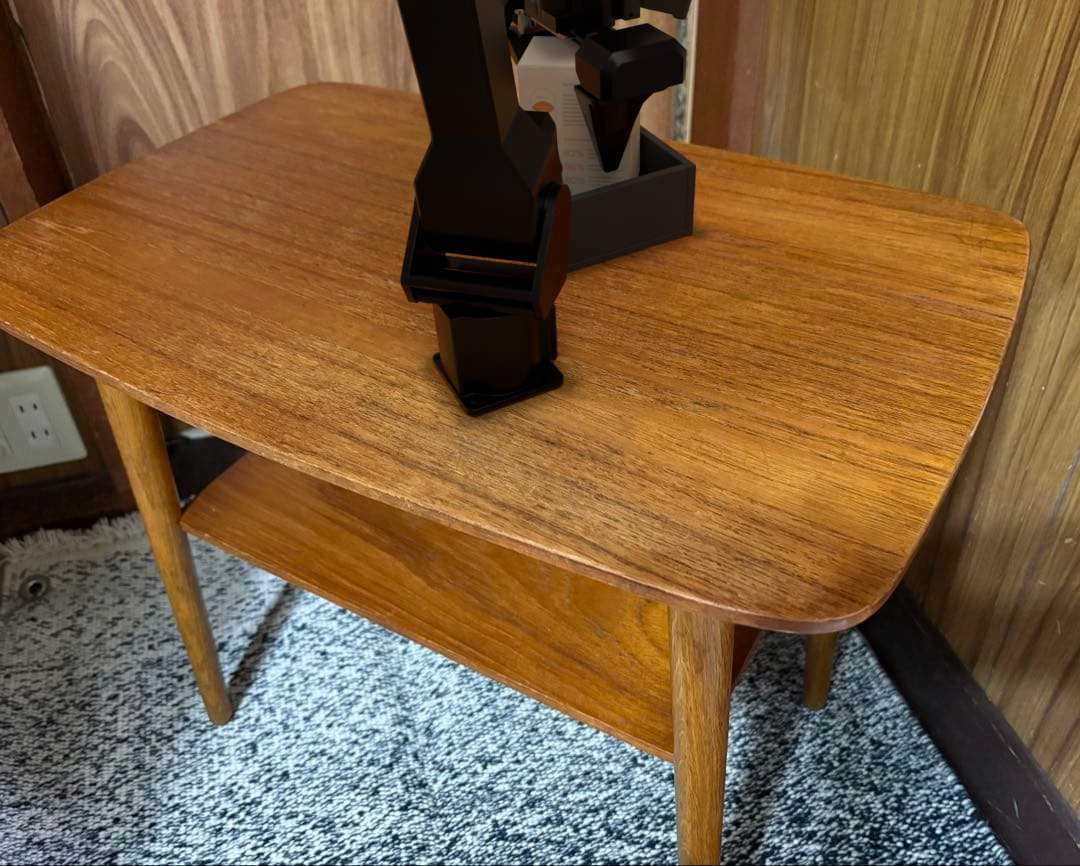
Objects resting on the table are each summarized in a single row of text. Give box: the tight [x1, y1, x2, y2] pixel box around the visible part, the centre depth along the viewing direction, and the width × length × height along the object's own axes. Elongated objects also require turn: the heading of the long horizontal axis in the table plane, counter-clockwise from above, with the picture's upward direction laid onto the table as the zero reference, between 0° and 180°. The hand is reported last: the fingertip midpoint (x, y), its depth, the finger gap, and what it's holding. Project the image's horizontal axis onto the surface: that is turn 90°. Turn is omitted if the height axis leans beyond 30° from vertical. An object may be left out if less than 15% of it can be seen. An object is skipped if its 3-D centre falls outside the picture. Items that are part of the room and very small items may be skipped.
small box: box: [516, 36, 641, 196], centre depth 71 cm, size 8×6×10 cm
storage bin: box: [567, 124, 697, 274], centre depth 75 cm, size 11×13×6 cm
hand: (581, 147), depth 73 cm, fingers closed on small box, 8 cm apart
